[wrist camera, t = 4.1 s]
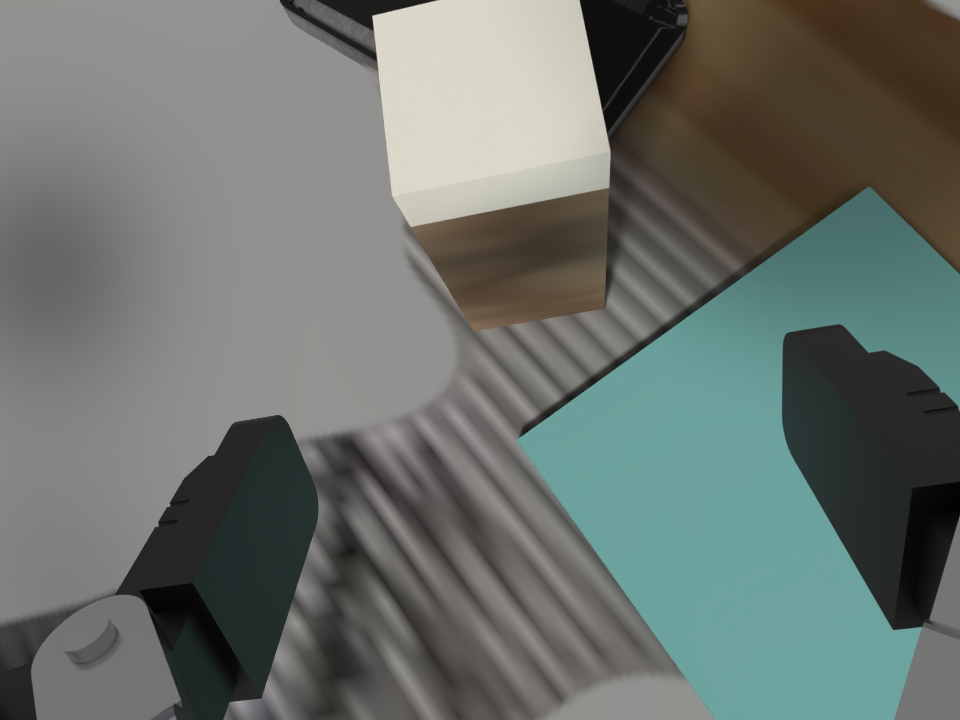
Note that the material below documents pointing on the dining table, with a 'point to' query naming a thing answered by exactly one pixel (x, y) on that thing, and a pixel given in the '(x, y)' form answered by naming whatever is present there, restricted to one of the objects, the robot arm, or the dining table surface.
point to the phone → (608, 23)
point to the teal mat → (753, 475)
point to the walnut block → (499, 152)
